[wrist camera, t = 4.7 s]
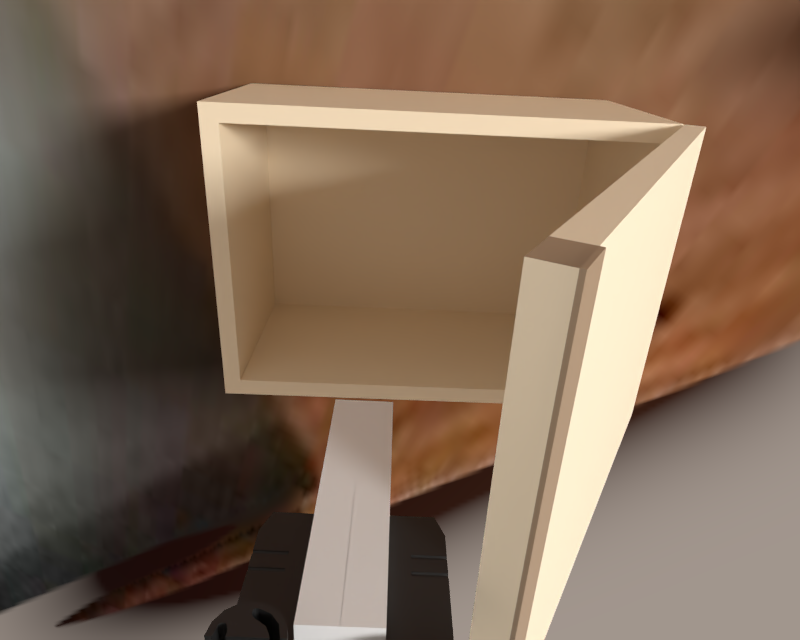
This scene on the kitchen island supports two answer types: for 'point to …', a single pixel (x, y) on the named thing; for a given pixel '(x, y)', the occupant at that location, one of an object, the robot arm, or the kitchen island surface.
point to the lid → (575, 383)
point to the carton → (392, 229)
